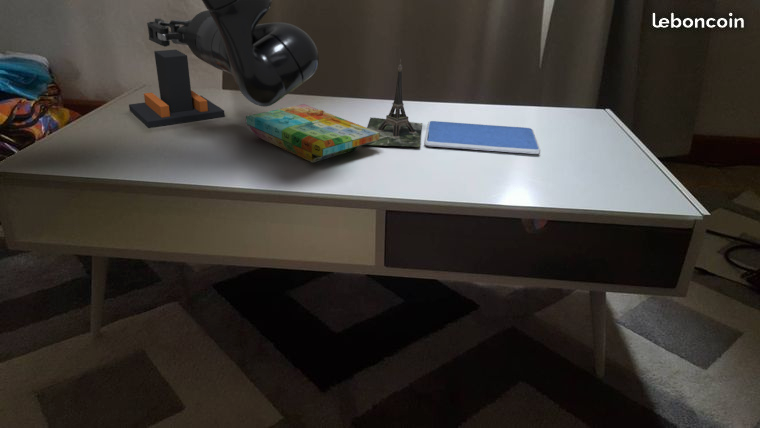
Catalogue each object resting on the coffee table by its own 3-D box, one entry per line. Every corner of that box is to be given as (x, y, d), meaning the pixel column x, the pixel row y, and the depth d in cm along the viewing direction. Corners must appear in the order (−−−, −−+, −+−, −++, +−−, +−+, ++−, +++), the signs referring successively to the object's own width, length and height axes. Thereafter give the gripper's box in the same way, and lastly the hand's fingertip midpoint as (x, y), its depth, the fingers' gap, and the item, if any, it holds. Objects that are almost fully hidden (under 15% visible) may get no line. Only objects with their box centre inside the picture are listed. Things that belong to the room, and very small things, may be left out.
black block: (171, 113, 104) (164, 57, 99) (161, 104, 108) (154, 51, 104) (193, 110, 106) (187, 55, 102) (182, 102, 110) (176, 49, 106)
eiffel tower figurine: (369, 120, 109) (371, 48, 103) (422, 123, 108) (427, 51, 102) (361, 146, 96) (363, 66, 90) (421, 150, 95) (428, 70, 89)
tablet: (423, 148, 96) (424, 140, 95) (427, 125, 107) (428, 118, 107) (540, 158, 94) (541, 150, 94) (531, 134, 105) (533, 127, 105)
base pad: (148, 128, 100) (145, 110, 98) (129, 110, 108) (126, 93, 107) (224, 116, 107) (223, 100, 106) (201, 101, 116) (200, 85, 114)
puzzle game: (301, 99, 103) (379, 127, 90) (302, 124, 105) (378, 155, 92) (245, 110, 95) (322, 143, 83) (247, 137, 97) (322, 173, 85)
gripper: (268, 12, 83) (224, -2, 95) (169, 16, 76) (135, 0, 87) (269, 64, 87) (227, 44, 98) (176, 72, 79) (141, 50, 90)
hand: (184, 24), depth 93 cm, fingers open, 8 cm apart
